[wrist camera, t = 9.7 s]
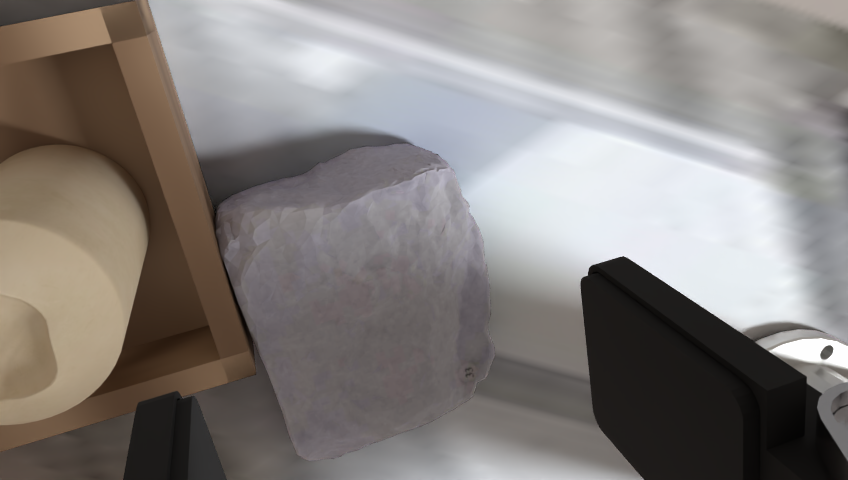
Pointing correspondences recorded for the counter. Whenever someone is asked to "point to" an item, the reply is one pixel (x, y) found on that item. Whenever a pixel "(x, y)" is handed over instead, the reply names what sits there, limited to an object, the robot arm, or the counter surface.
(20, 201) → the candle
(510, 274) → the counter surface
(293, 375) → the stone block
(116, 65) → the tray
